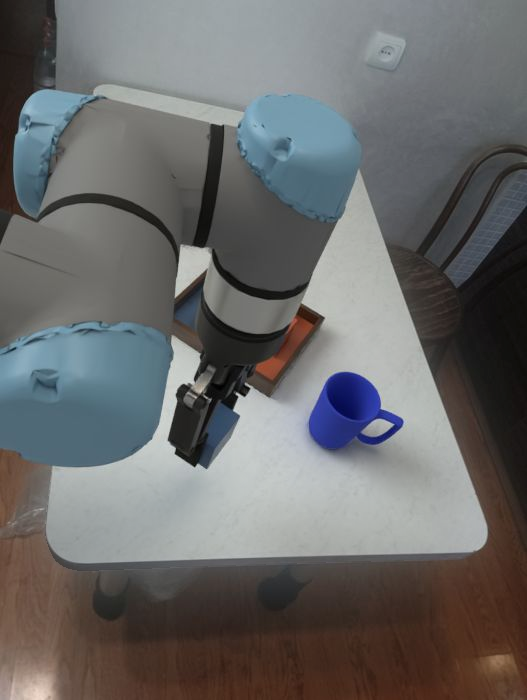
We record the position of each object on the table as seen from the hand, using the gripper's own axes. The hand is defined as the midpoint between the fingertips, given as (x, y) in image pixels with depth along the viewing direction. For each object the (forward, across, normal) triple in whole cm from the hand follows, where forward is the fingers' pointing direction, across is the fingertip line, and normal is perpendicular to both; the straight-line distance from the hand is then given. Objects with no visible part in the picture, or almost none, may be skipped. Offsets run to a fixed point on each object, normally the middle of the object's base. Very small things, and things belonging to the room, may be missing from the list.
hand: (201, 439), depth 60 cm
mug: (+13, -20, +14) cm, 28 cm away
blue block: (0, 0, 0) cm, 0 cm away
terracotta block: (+12, -28, -4) cm, 31 cm away
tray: (+13, -28, -8) cm, 32 cm away
